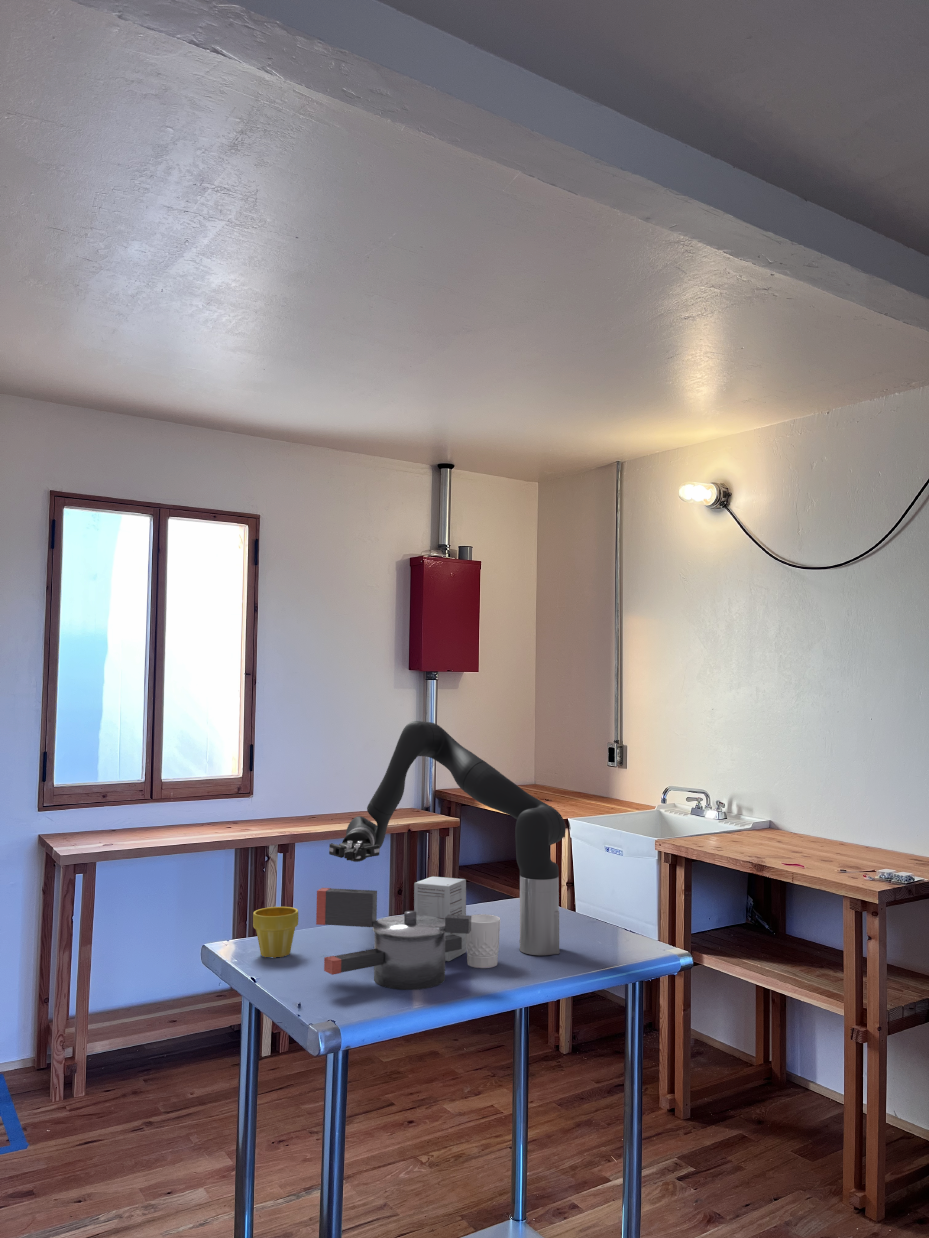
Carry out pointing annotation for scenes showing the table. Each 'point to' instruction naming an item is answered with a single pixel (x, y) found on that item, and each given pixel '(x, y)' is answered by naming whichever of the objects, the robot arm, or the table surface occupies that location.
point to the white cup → (483, 941)
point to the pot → (400, 961)
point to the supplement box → (442, 903)
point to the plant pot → (275, 930)
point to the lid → (362, 912)
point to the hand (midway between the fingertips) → (349, 855)
